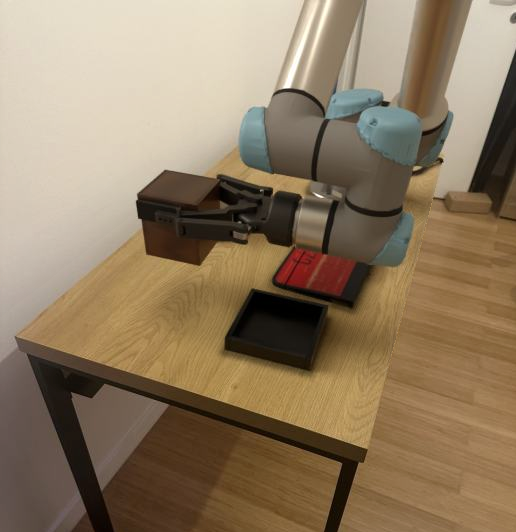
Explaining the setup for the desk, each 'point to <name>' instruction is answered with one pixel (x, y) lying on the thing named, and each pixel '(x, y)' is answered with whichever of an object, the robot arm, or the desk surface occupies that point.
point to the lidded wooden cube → (189, 198)
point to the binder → (321, 276)
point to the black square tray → (277, 329)
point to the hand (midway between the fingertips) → (153, 194)
